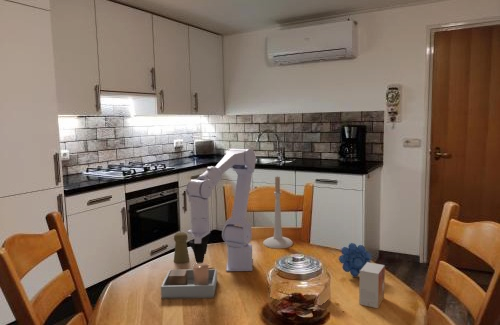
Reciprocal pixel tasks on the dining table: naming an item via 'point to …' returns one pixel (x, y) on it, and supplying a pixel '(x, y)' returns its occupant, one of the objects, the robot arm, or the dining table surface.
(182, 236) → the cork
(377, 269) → the small box
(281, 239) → the candlestick
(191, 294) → the tote
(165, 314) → the dining table surface
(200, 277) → the terracotta cylinder
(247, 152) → the robot arm
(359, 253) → the blue flower
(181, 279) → the walnut cube
